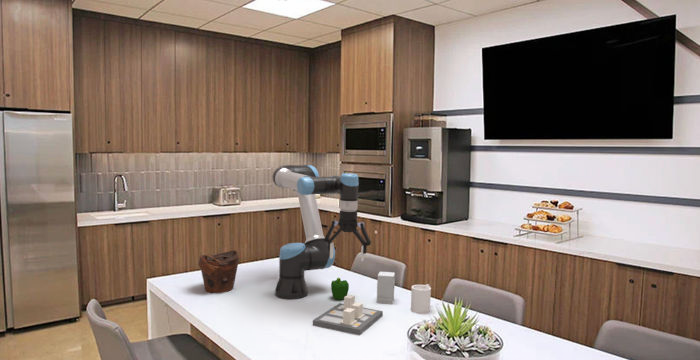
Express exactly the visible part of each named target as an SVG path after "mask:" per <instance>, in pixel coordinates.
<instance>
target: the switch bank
mask: <svg viewBox="0 0 700 360" xmlns="http://www.w3.org/2000/svg"><path fill="white" fill-rule="evenodd" d="M343 306H344V303H337V304H336V305H335V306H333V307H332V308H330V309H328V310H326V311H324V312H323V313H322V314H320V315H319V316H317V317H315V318H314V319H312V326H315V327H320V328H325V329H329V330H334V331H339V332H343V333H348V334H353V335H357V336H361V334H363V333H364V332H365V331H366V330H368V329H369V328H370V327H371V326H372V325H374V324H375V323H376V322H377V321H378V320H380V319H381V318H382V317H383V316H384V313H383V310H378V309H373V308H367V307H363V312H362V314H365V316H364V317H363V318H362V319H360V320H358V319H354V320H357V323H355V324H354V325H353V326H349V325H344V324H340V322H341V321H342V320H343V311H344V309H341V307H343Z"/></svg>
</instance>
